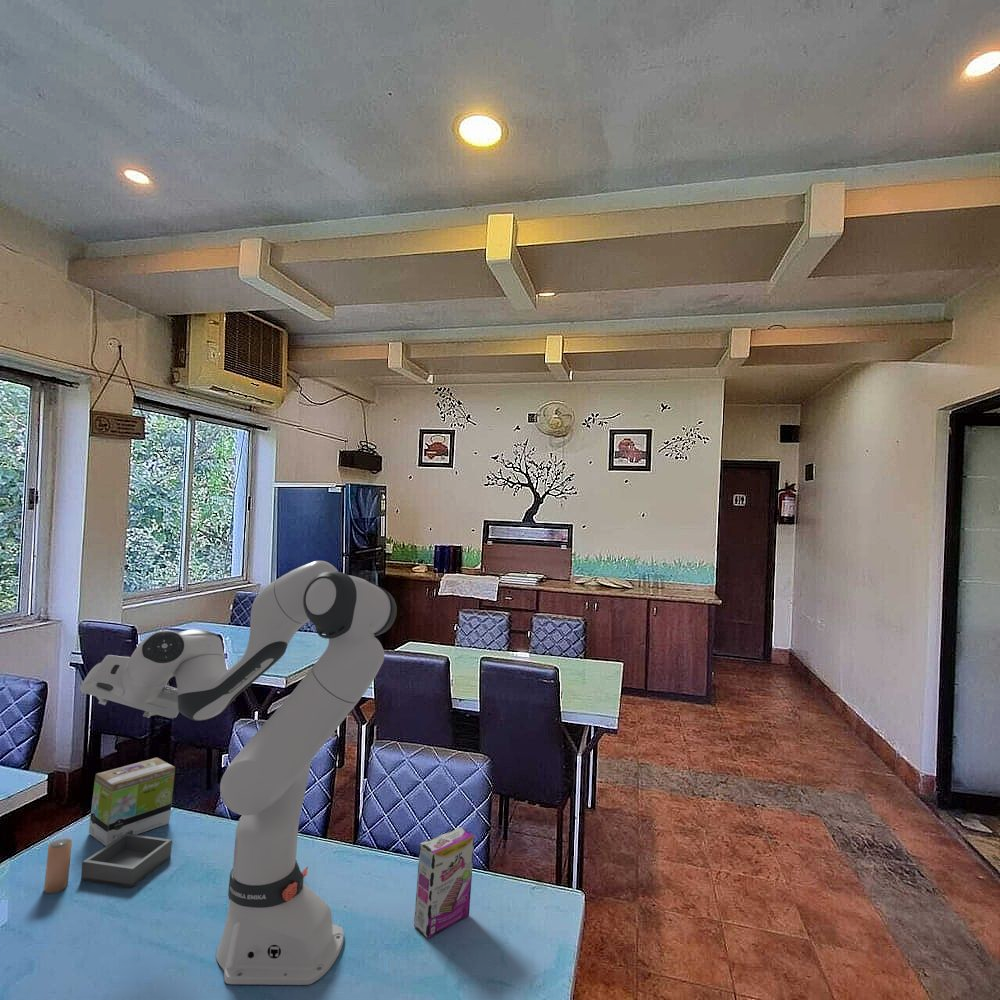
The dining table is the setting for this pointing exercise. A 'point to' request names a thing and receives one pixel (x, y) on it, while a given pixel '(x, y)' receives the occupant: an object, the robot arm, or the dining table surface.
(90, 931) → the dining table surface
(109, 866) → the charcoal bin
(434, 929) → the candy bar box
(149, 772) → the tea box
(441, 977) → the dining table surface
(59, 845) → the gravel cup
